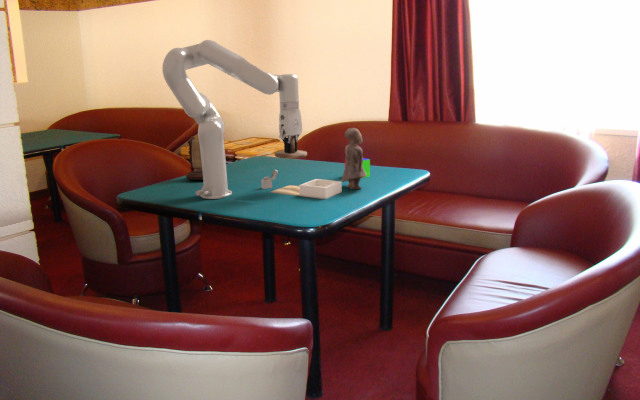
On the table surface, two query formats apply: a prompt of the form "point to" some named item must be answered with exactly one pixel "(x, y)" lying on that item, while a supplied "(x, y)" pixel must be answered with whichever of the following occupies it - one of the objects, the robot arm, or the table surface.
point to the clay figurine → (353, 159)
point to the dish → (320, 188)
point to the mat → (288, 190)
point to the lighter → (268, 180)
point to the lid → (294, 154)
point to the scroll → (195, 160)
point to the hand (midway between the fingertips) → (290, 151)
